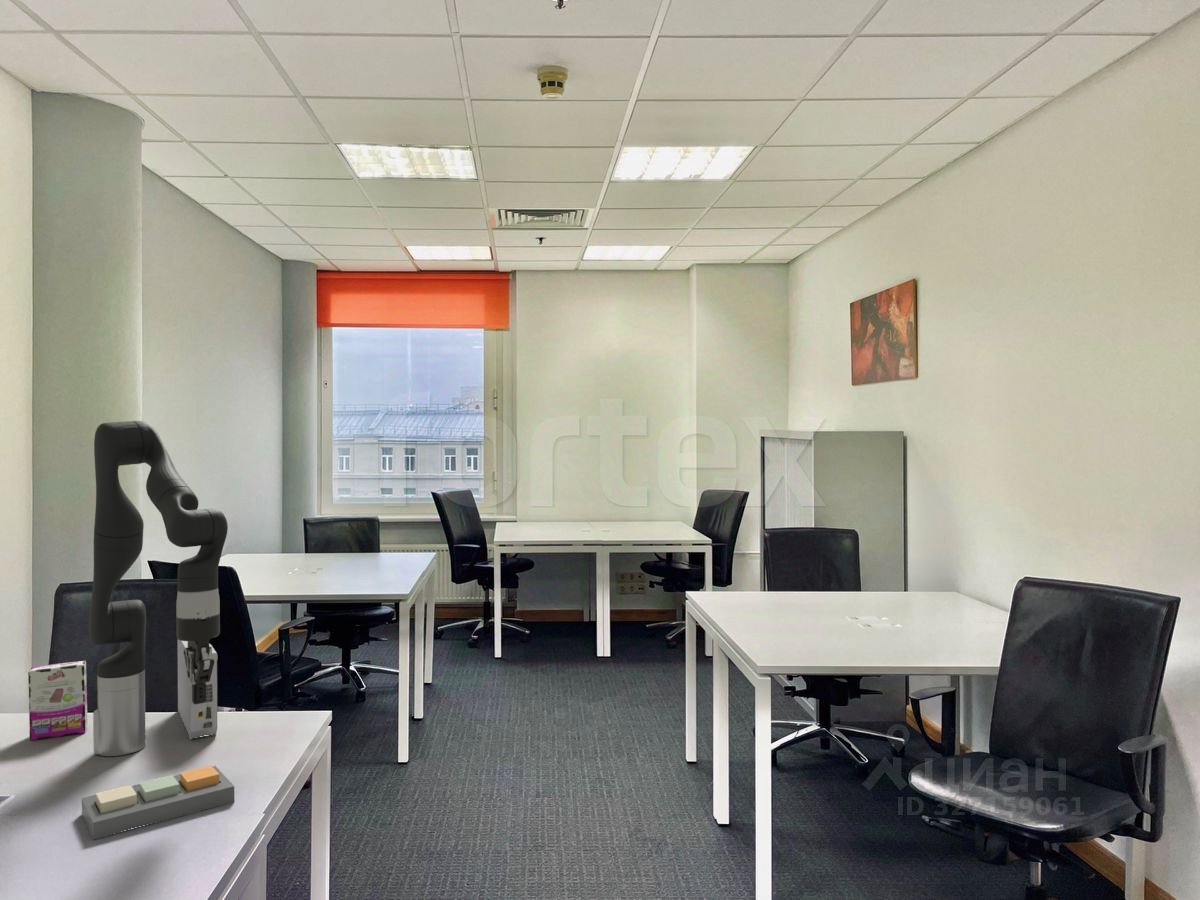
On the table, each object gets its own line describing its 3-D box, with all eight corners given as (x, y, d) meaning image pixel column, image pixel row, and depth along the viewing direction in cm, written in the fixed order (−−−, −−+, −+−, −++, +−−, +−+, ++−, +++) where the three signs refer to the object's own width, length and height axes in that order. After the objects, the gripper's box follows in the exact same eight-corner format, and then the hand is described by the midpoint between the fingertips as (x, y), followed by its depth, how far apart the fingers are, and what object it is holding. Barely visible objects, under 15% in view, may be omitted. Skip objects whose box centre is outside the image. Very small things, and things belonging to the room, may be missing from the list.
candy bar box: (87, 727, 196) (87, 659, 196) (85, 733, 192) (85, 664, 192) (32, 734, 191) (31, 665, 191) (28, 741, 187) (27, 670, 187)
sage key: (145, 803, 147) (145, 792, 147) (139, 793, 152) (139, 782, 152) (179, 794, 151) (179, 784, 151) (172, 785, 155) (172, 774, 155)
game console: (202, 707, 211) (202, 631, 211) (218, 737, 188) (218, 652, 188) (178, 711, 208) (177, 633, 208) (191, 743, 185) (190, 656, 185)
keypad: (93, 840, 139) (93, 822, 139) (81, 814, 149) (81, 798, 149) (234, 801, 154) (234, 786, 154) (215, 780, 164) (215, 765, 164)
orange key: (187, 792, 152) (187, 782, 152) (180, 783, 156) (180, 772, 156) (219, 784, 156) (219, 774, 156) (211, 775, 160) (211, 765, 160)
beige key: (101, 814, 143) (101, 803, 143) (95, 804, 147) (95, 793, 147) (136, 805, 147) (136, 794, 147) (130, 795, 151) (130, 784, 151)
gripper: (168, 610, 159) (169, 698, 159) (185, 621, 148) (186, 715, 148) (209, 605, 163) (210, 691, 163) (228, 615, 153) (229, 706, 153)
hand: (199, 702), depth 156 cm, fingers closed
